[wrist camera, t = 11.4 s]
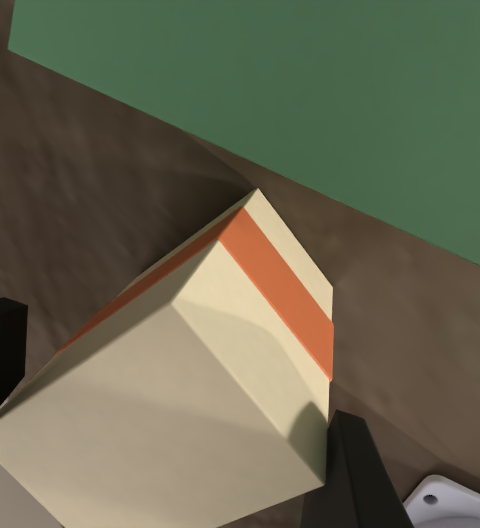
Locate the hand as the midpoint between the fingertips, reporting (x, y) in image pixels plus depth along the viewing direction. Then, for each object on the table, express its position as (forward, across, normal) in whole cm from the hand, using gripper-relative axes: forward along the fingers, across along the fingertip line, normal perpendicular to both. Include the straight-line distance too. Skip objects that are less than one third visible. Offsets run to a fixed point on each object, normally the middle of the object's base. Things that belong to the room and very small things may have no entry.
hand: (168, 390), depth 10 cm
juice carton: (+7, 0, 0) cm, 7 cm away
